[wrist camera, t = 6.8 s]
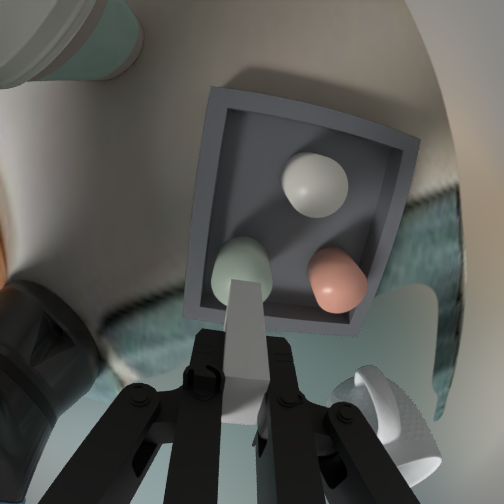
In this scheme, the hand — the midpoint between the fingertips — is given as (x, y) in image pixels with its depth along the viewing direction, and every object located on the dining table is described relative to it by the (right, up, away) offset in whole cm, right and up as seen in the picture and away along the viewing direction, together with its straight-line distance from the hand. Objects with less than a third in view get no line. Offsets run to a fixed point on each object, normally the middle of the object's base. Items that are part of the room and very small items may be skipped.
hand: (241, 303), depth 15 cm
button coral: (+6, +1, +6) cm, 9 cm away
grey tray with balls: (+4, +5, +6) cm, 9 cm away
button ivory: (+4, +8, +4) cm, 9 cm away
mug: (+12, -12, +14) cm, 23 cm away
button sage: (0, +2, +5) cm, 6 cm away
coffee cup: (-10, +18, +1) cm, 21 cm away
